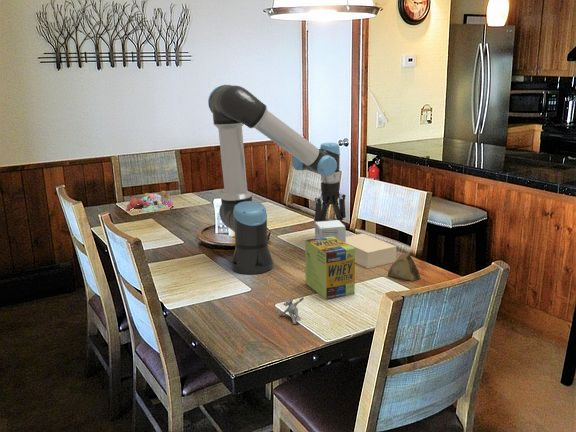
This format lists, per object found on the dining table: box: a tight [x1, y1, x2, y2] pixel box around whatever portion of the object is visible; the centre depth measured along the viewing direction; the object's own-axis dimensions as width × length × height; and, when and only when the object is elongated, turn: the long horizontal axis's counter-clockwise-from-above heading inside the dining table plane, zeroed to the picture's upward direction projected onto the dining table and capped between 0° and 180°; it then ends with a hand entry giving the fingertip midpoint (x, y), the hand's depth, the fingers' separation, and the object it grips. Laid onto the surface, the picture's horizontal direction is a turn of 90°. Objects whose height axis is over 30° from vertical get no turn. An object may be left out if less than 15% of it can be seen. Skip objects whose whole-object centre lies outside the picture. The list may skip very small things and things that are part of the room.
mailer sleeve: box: [346, 233, 397, 270], centre depth 211 cm, size 20×13×6 cm, turn 30°
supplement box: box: [314, 219, 347, 243], centre depth 198 cm, size 10×9×17 cm
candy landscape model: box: [125, 190, 174, 212], centre depth 291 cm, size 25×24×9 cm
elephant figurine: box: [279, 297, 305, 325], centre depth 161 cm, size 9×5×8 cm
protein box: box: [304, 236, 356, 300], centre depth 181 cm, size 10×15×16 cm
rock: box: [387, 253, 422, 281], centre depth 191 cm, size 10×8×10 cm
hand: (330, 236), depth 230 cm, fingers open, 6 cm apart
